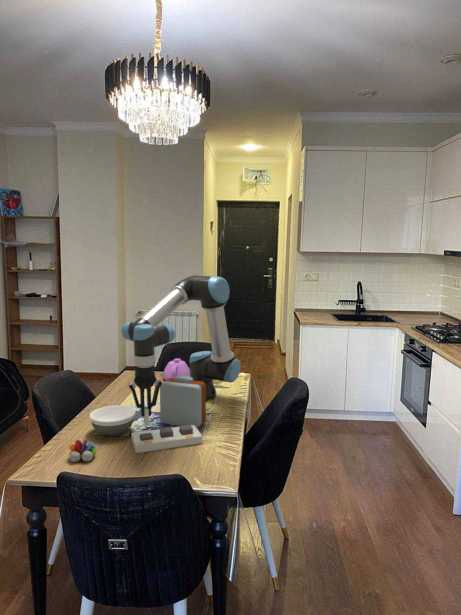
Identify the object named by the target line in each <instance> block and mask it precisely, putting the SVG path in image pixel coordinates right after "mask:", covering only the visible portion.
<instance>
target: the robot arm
mask: <svg viewBox="0 0 461 615" xmlns="http://www.w3.org/2000/svg"><path fill="white" fill-rule="evenodd" d="M230 294H231V292H230V285H229V283H228V281H227V280H226V279H225V278H224V277H222V276H217V275H209V276H208V275H197V274H196V275H191V276H188V277H186V278H184V279H181V280H180V281H179V282H177V283H176V284H174V285H173V286H172V287H170V290H169V292H168V293H167V294H166V295H165V296H164V297H162V298H161V299H160V300H159V301H157V302H156V303H155V304H154V305H152V307H150V308H149V309H148V310H147V311H146V312H144V314H142V315H141V316H139V318H137V319H136V320H135V321H130V322H129V321H127V322H125V323H124V324H123V325H122V328H121V335H122V338H124V339H125V340H128V341H131V342H133V348H134V349H133V350H134V351H133V352H134V354H133V355H134V356H133V357H134V378H133V381H132V382H131V383H128V384H127V385H128V386H127V387H128V388H129V389H130V391H131V393H132V396H133V399H134V403H135V406H136V408H137V409H140V416H141V417H142V418H143V424H144V425H145V426H149V425H150V419H149V418H150V416H152V407H155V406H156V405H157V402H158V397H159V394H160V386H161V385H162V382H163V381H161V380H160V379H157V377H156V370H155V369H156V368H155V348H157V347H160V346H163V345H168V344H169V343H172V342H173V341H174V340H175V337H176V332H175V329H174V327H173V326H172V325H170V324H161V323H162V322H164V320H166V318H167V317H169V316H170V315H171V314H172V313H173V312H175V311H176V309H179V307H180V306H181V305H186V304H187V303H188V302H191V301H199V302H200V305H201V308H202V309H204V310H205V317H206V320H207V327H208V331H209V339H210V345H211V350H207V351H206V350H203V351H197V352H194V353H191V355H190V356H189V362H188V363H189V370H190V377H191V378H193V381H202V382H204V383H205V384H206V402H207V401H212V400H215V399H216V397H217V390H216V387H215V384H214V380H215V381H219V382H224V383H234V382H235V381H236V380H237V379H238V377H239V375H240V371H241V368H242V367H241V360H239V359H237V358H235V353H234V351H232V350H231V345H230V339H229V333H228V328H227V327H228V326H227V321H226V314H225V308H224V307H225V306H226V304H227V302H228V300H229V298H230ZM160 324H161V325H160ZM154 385H155V386H154ZM136 386H137V387H138V389H139V396H140V397H139V398H140V399H138V395H137V391H136V390H135V388H136ZM153 386H154V389H153V390H154V391H153V395H152V387H153ZM145 390H146V405H147V406H146V405H145ZM139 400H140V402H139Z"/></svg>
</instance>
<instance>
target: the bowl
mask: <svg viewBox="0 0 461 615" xmlns="http://www.w3.org/2000/svg"><path fill="white" fill-rule="evenodd" d="M136 413H137V411H136V410H135V409H134V408H133V407H131V406H128V405H119V404H117V405H115V404H113V405H106V406H102V407H99V408H96V409H94V410H92V411H91V412H90V413H89V419H90V421H91V426H92V427H93V428H94V430H95V431H97V432H98V433H100V434H102V435H104V436H107V435H109V436H108V437H115V436H114V435H116V436H119V434H120V435H121V434H123V433H124V432H126V431H127V430H129V429H130V427H131V426H132V425H133V423H134V421H135V415H136Z"/></svg>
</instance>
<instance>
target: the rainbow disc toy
mask: <svg viewBox="0 0 461 615" xmlns="http://www.w3.org/2000/svg"><path fill="white" fill-rule="evenodd" d="M74 442H75V443H74V444H70V445H69V450H70V452H69V457H68V458H69V460H70V462H73V463H77V462H79V461H80V460H81V459H82V461H83V462H86V463H87V462H90V461H92V460H93V457H94V455H96V453H97V449H96V446H95V445H94V444H95V443H94V442H92V441H91V442H89V443H88V439H87V438H86V439H85V438H84V439H83V441H82V440H80V439H76V440H75V441H74Z"/></svg>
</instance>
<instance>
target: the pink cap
mask: <svg viewBox="0 0 461 615" xmlns="http://www.w3.org/2000/svg"><path fill="white" fill-rule="evenodd" d="M178 376H189V377H190V366H188V364H187V363H186V362H185V361H184V360H182V359H181V358H174V359H173V360H170V361H169V362H168V363H167V365H166V366H165V368H164V370H163V376H162V378H163V379H165V380H164V381H166V380H167V379H169V378H176V377H178Z"/></svg>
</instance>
